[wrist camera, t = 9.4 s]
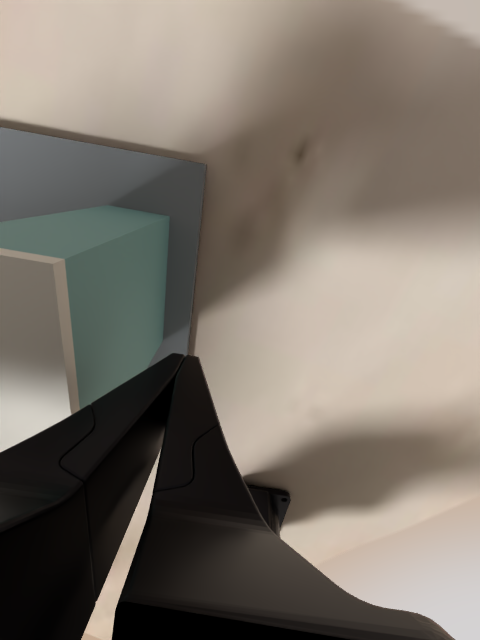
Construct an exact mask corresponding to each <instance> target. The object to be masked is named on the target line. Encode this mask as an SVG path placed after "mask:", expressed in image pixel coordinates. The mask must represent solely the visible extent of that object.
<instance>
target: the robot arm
mask: <svg viewBox="0 0 480 640" xmlns="http://www.w3.org/2000/svg"><path fill="white" fill-rule="evenodd" d="M161 447H162V448H161ZM160 449H161V453H160V458H159V463H158V468H157V473H156V478H155V483H154V488H153V495H152V498H151V503H150V508H149V512H148V516H147V520H146V523H145V526H144V529H143V532H142V535H141V537H140V540H139V543H138V546H137V549H136V552H135V555H134V558H133V561H132V563H131V566H130V569H129V572H128V575H127V578H126V581H125V584H124V587H123V589H122V592H121V595H120V598H119V601H118V604H117V607H116V610H115V618H114V626H113V634H112V640H455V639H454V638H452V637H451V636H450V635H449V634H448V633H447V632H446V631H445V630H444V629H443V628H442V627H441V626H439V625H438V624H437V623H435V622H434V621H433V620H431V619H429V618H427V617H425V616H422V615H420V614H418V613H413V612H409V611H403V610H395V609H388V608H383V607H379V606H375V605H372V604H369V603H367V602H365V601H362V600H360V599H358V598H356V597H354V596H353V595H351V594H349V593H347V592H346V591H344V590H343V589H342V588H340V587H339V586H337V585H336V584H335V583H334V582H332V581H331V580H330V579H329V578H327V577H326V576H325V575H324V574H323V573H322V572H320V571H319V570H318V569H317V568H315V567H314V566H313V565H312V564H311V563H309V562H308V561H307V560H306V559H305V558H303V557H302V556H301V555H300V554H299V553H297V552H296V551H295V550H294V549H292V548H291V547H290V546H289V545H288V544H286V543H285V542H284V541H283V540H282V539H280V527H281V524H282V522H283V519H284V516H285V514H286V511H287V509H288V506H289V503H290V500H291V499H290V493H289V492H287V491H282V490H275V489H268V488H261V487H255V486H248V485H246V484H245V482H244V480H243V478H242V476H241V474H240V472H239V470H238V468H237V466H236V464H235V462H234V459H233V457H232V455H231V453H230V451H229V448H228V445H227V443H226V440H225V437H224V434H223V431H222V428H221V426H220V422H219V419H218V416H217V413H216V410H215V407H214V403H213V400H212V397H211V394H210V391H209V388H208V385H207V381H206V378H205V375H204V372H203V369H202V366H201V363H200V359H199V357H196V356H190V355H187V356H185V355H184V354H178V353H172V354H170V355H168V356H167V357H165V358H163V359H162V360H160V361H159V362H157V363H155V364H154V365H152V366H150V367H149V368H147V369H146V370H144V371H142V372H141V373H139V374H137V375H136V376H134V377H133V378H131V379H129V380H128V381H126V382H124V383H123V384H121V385H120V386H118V387H116V388H115V389H113V390H111V391H110V392H108V393H107V394H105V395H103V396H102V397H100V398H98V399H97V400H95V401H94V402H92V403H91V405H90V404H89V405H87V406H85V407H84V408H82V409H80V410H79V411H77V412H75V413H74V414H72V415H70V416H69V417H67V418H65V419H63V420H62V421H60V422H58V423H56V424H54V425H53V426H51V427H49V428H47V429H45V430H43V431H41V432H39V433H37V434H36V435H34V436H32V437H30V438H28V439H26V440H24V441H22V442H20V443H18V444H16V445H14V446H12V447H10V448H8V449H6V450H4V451H2V452H0V640H81V638H82V636H83V633H84V631H85V629H86V626H87V624H88V622H89V619H90V617H91V614H92V612H93V610H94V607H95V605H96V603H95V602H96V601H97V600H98V597H99V595H100V593H101V590H102V588H103V585H104V583H105V581H106V578H107V576H108V573H109V571H110V569H111V566H112V564H113V561H114V559H115V557H116V554H117V552H118V550H119V547H120V545H121V542H122V540H123V538H124V535H125V533H126V530H127V528H128V526H129V523H130V521H131V518H132V516H133V514H134V511H135V509H136V507H137V504H138V502H139V499H140V497H141V495H142V492H143V490H144V487H145V485H146V483H147V480H148V478H149V475H150V473H151V471H152V468H153V466H154V464H155V461H156V459H157V456H158V454H159V452H160Z"/></svg>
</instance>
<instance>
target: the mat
mask: <svg viewBox="0 0 480 640" xmlns="http://www.w3.org/2000/svg"><path fill="white" fill-rule="evenodd" d="M206 166H207V165H206V164H202V163H196V162H191V161H185V160H180V159H174V158H169V157H163V156H158V155H152V154H147V153H141V152H136V151H130V150H125V149H119V148H113V147H108V146H102V145H97V144H91V143H86V142H80V141H75V140H69V139H64V138H58V137H53V136H47V135H42V134H36V133H31V132H25V131H20V130H14V129H9V128H3V127H0V222H5V221H11V220H17V219H24V218H30V217H36V216H43V215H49V214H55V213H61V212H68V211H74V210H80V209H87V208H93V207H99V206H106V205H109V206H115V207H121V208H126V209H132V210H138V211H143V212H149V213H154V214H160V215H166V216H170V221H169V239H168V257H167V275H166V293H165V311H164V329H163V341H162V343H161V345H160V346H159V348H158V350H157V351H156V353H155V355H154V357H153V358H152V360H151V362H150V364H149V365H148V367H147V368H149V367H150V366H152V365H154V364H155V363H157V362H159V361H160V360H162V359H163V358H165V357H167V356H168V355H170V354H172V353H178V354H184V355H185V356H187V355H188V349H189V339H190V329H191V319H192V308H193V298H194V288H195V278H196V268H197V258H198V247H199V237H200V227H201V217H202V207H203V196H204V186H205V176H206Z"/></svg>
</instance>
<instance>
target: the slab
mask: <svg viewBox="0 0 480 640" xmlns="http://www.w3.org/2000/svg"><path fill="white" fill-rule="evenodd" d="M169 221H170V216H166V215H160V214H154V213H149V212H143V211H138V210H132V209H126V208H121V207H115V206H109V205H106V206H99V207H93V208H87V209H80V210H74V211H68V212H61V213H55V214H49V215H43V216H36V217H30V218H24V219H17V220H11V221H5V222H0V452H2V451H4V450H6V449H8V448H10V447H12V446H14V445H16V444H18V443H20V442H22V441H24V440H26V439H28V438H30V437H32V436H34V435H36V434H37V433H39V432H41V431H43V430H45V429H47V428H49V427H51V426H53V425H54V424H56V423H58V422H60V421H62V420H63V419H65V418H67V417H69V416H70V415H72V414H74V413H75V412H77V411H79V410H80V409H82V408H84V407H85V406H87V405H89V404H90V405H91V403H92V402H94V401H95V400H97V399H98V398H100V397H102V396H103V395H105V394H107V393H108V392H110V391H111V390H113V389H115V388H116V387H118V386H120V385H121V384H123V383H124V382H126V381H128V380H129V379H131V378H133V377H134V376H136V375H137V374H139V373H141V372H142V371H144V370H146V369H147V367H148V365H149V364H150V362H151V360H152V358H153V357H154V355H155V353H156V351H157V350H158V348H159V346H160V345H161V343H162V341H163V329H164V311H165V293H166V275H167V257H168V239H169Z"/></svg>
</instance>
